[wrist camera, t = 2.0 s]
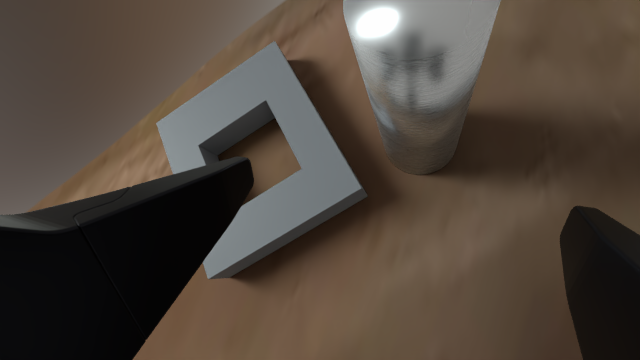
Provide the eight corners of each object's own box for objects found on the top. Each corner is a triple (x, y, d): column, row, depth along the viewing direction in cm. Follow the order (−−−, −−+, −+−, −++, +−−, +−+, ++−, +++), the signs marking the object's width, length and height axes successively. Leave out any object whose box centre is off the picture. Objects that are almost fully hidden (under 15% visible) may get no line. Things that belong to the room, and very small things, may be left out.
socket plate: (368, 196, 22) (361, 187, 20) (229, 277, 23) (208, 279, 21) (287, 60, 27) (274, 40, 25) (177, 134, 29) (156, 123, 26)
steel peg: (472, 150, 21) (544, -11, 9) (407, 187, 21) (391, 86, 9) (430, 97, 22) (442, -98, 10) (372, 133, 23) (319, -11, 11)
